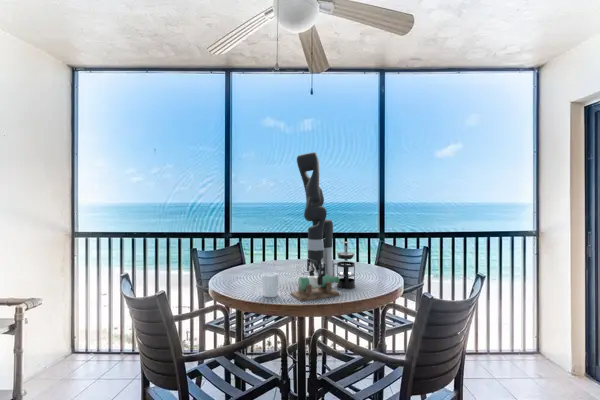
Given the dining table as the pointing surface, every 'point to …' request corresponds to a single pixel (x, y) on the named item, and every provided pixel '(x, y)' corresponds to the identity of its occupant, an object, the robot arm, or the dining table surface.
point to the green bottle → (315, 281)
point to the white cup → (270, 284)
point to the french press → (345, 270)
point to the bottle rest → (315, 292)
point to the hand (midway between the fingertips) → (315, 282)
